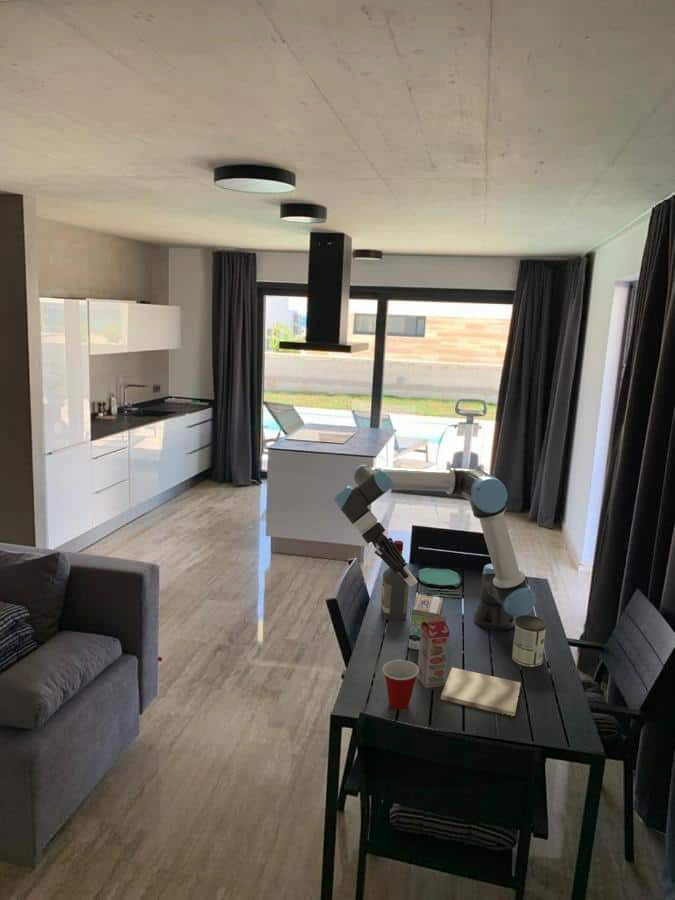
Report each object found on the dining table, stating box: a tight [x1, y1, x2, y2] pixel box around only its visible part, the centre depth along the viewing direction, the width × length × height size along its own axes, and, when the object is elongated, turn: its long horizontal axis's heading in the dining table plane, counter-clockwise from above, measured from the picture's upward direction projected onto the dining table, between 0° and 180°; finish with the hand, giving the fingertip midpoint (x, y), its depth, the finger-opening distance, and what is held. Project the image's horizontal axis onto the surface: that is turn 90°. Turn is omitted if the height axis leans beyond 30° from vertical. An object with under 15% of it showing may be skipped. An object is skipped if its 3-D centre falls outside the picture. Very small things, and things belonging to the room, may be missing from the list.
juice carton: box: [416, 616, 450, 689], centre depth 212 cm, size 7×7×22 cm
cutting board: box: [440, 667, 522, 717], centre depth 208 cm, size 22×18×2 cm
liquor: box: [380, 540, 410, 621], centre depth 257 cm, size 9×9×30 cm
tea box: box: [408, 593, 444, 651], centre depth 239 cm, size 15×10×15 cm, turn 166°
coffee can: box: [511, 614, 548, 668], centre depth 230 cm, size 10×10×14 cm
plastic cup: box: [382, 659, 419, 711], centre depth 199 cm, size 11×11×12 cm
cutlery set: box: [416, 567, 463, 599], centre depth 294 cm, size 20×30×2 cm, turn 176°
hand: (414, 584), depth 221 cm, fingers closed
